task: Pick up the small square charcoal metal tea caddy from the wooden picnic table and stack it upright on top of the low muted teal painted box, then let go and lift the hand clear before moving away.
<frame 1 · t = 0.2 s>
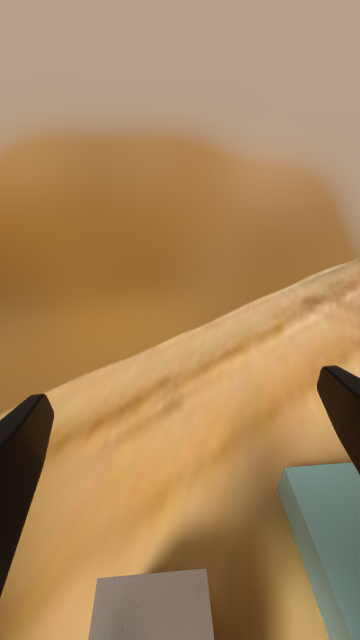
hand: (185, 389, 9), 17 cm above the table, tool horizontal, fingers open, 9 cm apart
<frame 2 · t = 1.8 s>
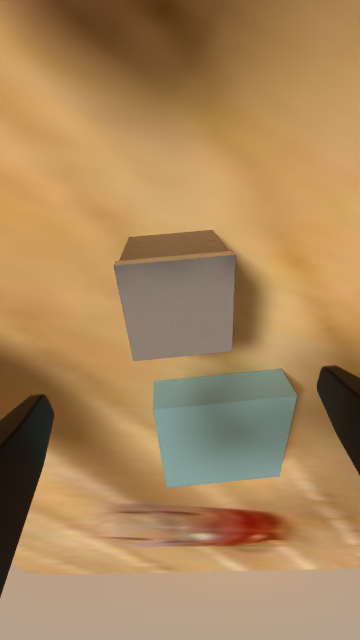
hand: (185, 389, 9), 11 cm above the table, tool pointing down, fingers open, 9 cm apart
tin: (174, 272, 18), on the table
teal box: (216, 414, 26), on the table
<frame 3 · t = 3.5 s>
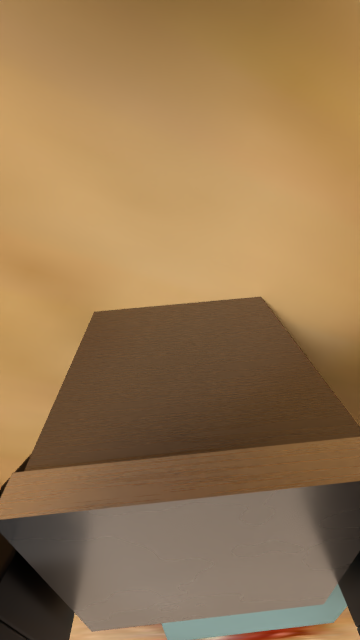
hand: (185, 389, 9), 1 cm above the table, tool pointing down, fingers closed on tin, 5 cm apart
tin: (183, 368, 10), on the table, touching gripper
teal box: (241, 531, 18), on the table
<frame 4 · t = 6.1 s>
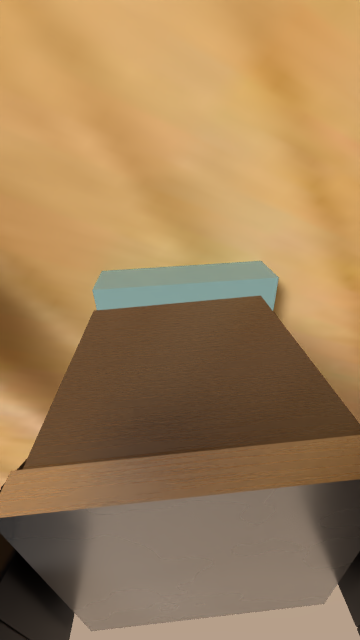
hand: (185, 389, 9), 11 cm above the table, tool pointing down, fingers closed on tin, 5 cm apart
tin: (183, 367, 10), point 10 cm above the table, touching gripper
teal box: (184, 329, 21), on the table
when the fingers open (5 cm above the table, at t = 8.7 s): tin drops 1 cm, resting on teal box.
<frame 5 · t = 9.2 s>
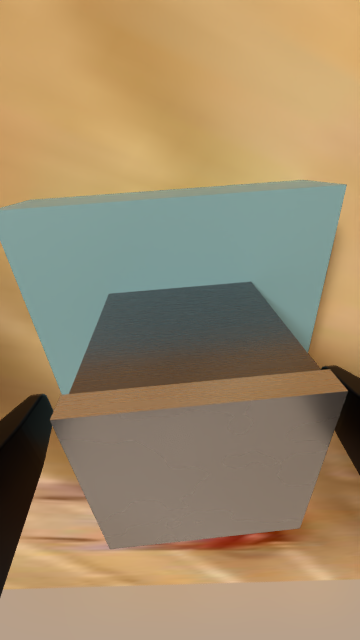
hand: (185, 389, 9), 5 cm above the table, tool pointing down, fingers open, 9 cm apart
tin: (184, 345, 11), point 3 cm above the table, touching teal box
teal box: (176, 305, 14), on the table, touching tin
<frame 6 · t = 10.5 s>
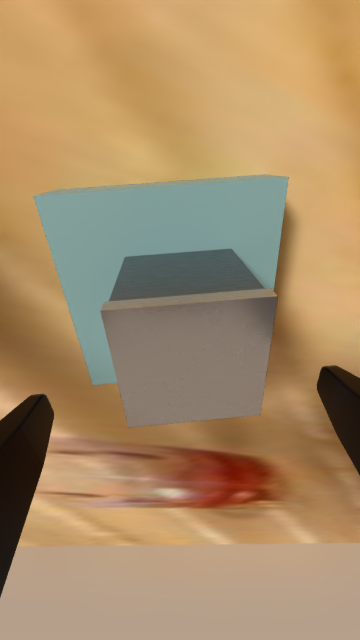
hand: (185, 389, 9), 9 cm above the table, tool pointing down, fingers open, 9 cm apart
tin: (181, 300, 14), point 3 cm above the table
teal box: (169, 276, 17), on the table
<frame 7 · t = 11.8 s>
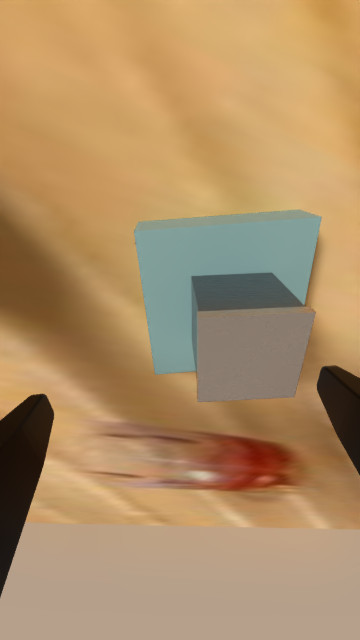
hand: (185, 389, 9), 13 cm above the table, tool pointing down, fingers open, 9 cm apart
tin: (229, 310, 18), point 3 cm above the table
teal box: (217, 287, 21), on the table
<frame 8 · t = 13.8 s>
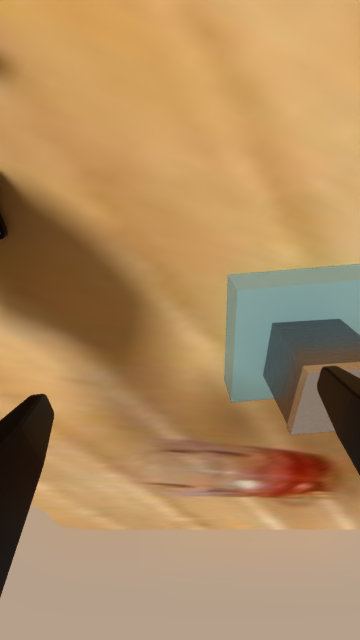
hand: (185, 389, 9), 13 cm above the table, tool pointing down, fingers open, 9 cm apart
tin: (299, 348, 21), point 3 cm above the table, touching teal box
teal box: (284, 324, 24), on the table, touching tin
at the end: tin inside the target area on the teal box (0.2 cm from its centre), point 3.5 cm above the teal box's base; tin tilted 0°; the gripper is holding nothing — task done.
